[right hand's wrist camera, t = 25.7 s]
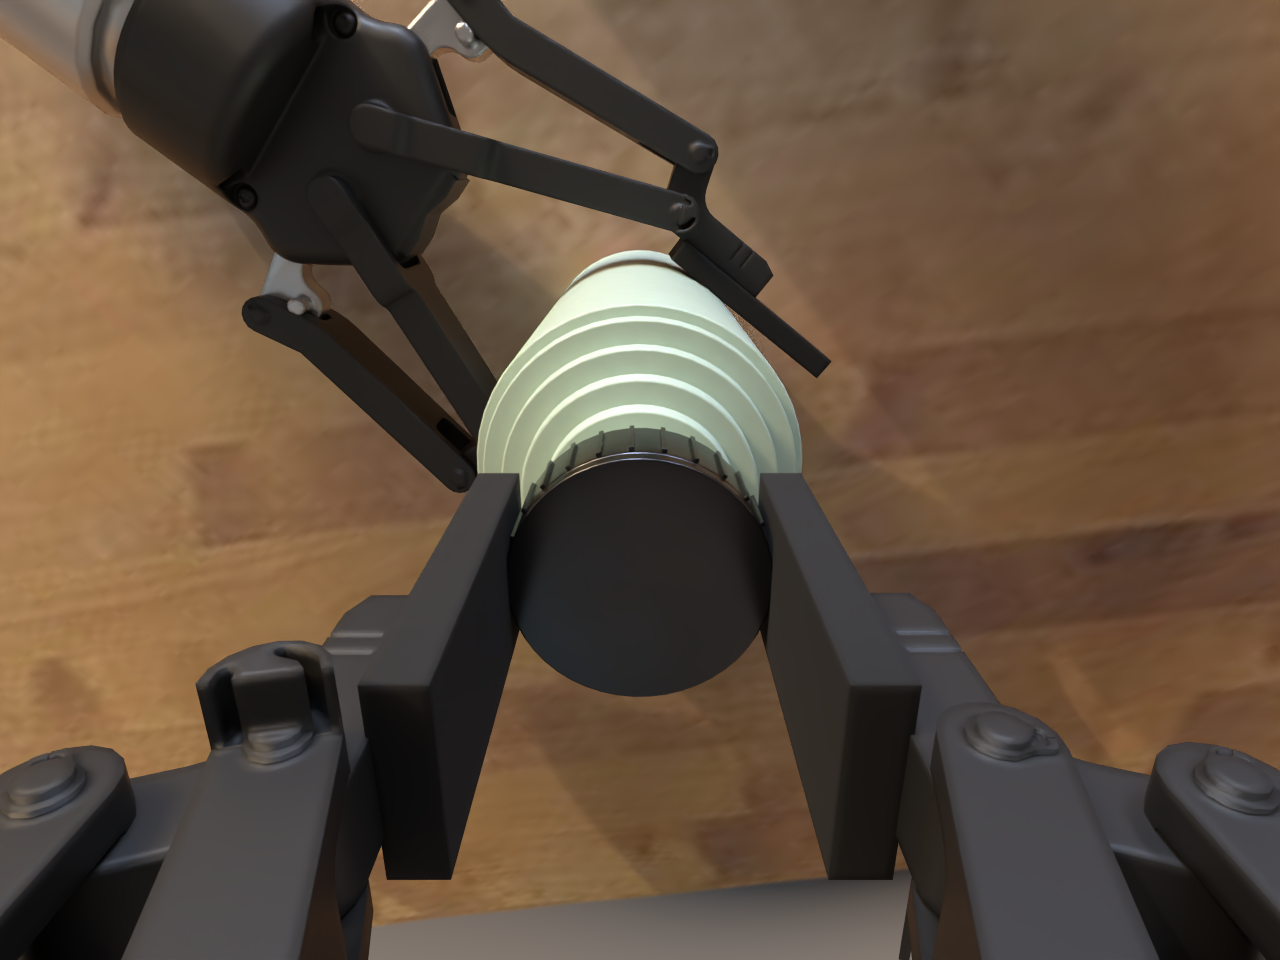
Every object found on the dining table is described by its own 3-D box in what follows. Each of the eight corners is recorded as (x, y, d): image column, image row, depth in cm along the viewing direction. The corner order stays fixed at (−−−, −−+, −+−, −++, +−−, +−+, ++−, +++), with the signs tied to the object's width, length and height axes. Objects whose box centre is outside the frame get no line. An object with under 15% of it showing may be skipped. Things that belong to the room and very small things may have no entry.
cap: (787, 447, 14) (807, 481, 12) (731, 662, 16) (742, 717, 14) (535, 403, 14) (521, 431, 12) (504, 626, 15) (487, 678, 14)
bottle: (611, 455, 36) (575, 795, 16) (517, 311, 34) (332, 492, 13) (758, 370, 34) (926, 623, 14) (671, 214, 32) (723, 250, 12)
